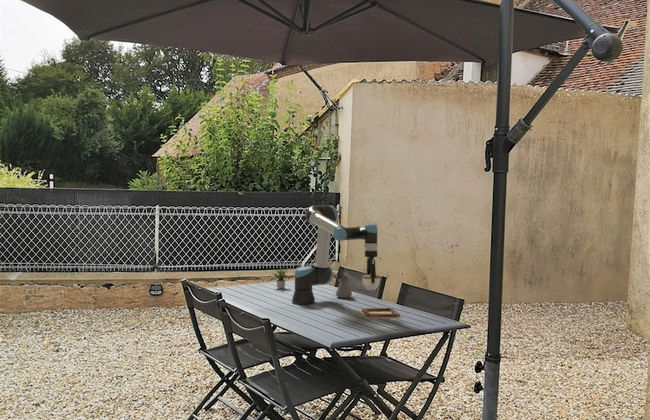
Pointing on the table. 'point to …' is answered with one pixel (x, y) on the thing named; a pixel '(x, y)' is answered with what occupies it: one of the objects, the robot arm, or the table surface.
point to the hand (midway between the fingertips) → (371, 287)
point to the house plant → (280, 278)
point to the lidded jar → (367, 281)
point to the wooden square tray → (379, 313)
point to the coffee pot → (343, 288)
